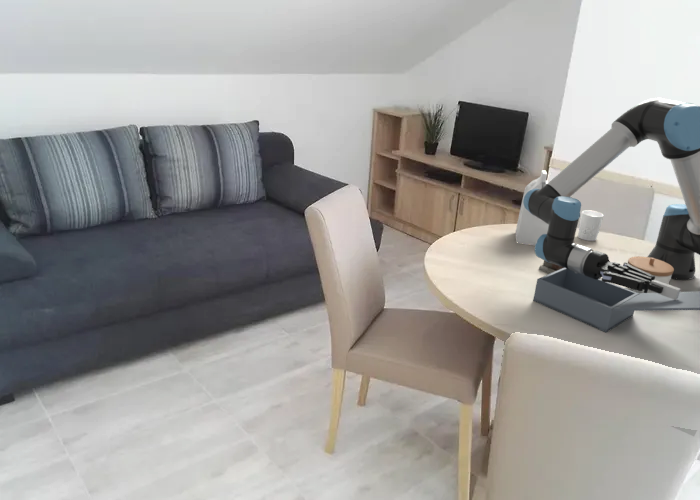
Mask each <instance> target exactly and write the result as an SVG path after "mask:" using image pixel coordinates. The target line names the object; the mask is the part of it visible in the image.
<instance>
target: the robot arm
mask: <svg viewBox="0 0 700 500" xmlns="http://www.w3.org/2000/svg"><path fill="white" fill-rule="evenodd" d="M646 140H650V141H653V142H656V143H657V144H658V146H659V150H660V152H661V155H662V156H663V158H664V159H666V160H670V162H671V165H672V168H673V171H674V175H675V177H676V180H677V183H678V186H679V189H680V193H681V194H682V198H683V201H684V204H683V203H676V204H675V203H674V204H669V205H667V207H666V208H665V211H664V213H663V216H662V220H661V224H660V228H659V231H658V235H657V239H656V242H655V246H653V249H651V251H650V253H649V254H647V255H648V256H647V257H650V258H655V259H658V260H661V261H664V262H666V263H668V264H670V265H671V266H672V267H673V268H674V272H673V274H672V276H671V279H670V280H679V281H680V280H681V281H686V280H687V281H688V280H691V279H693V278H694V277H695V274H696V263H695V262H696V261H695V260H696V259H695V253H696V254H697V255H699V256H700V105H697V104H695V103H691V102H683V101H678V100H673V99H672V100H671V99H667V98H663V97H657V98H656V97H655V98H649V99H647V100H644V101H642V102H640V103H638V104H637V105H635V106H633V107H630V109H628V110H627V111H626V112H624V113H621V115H620V116H619V117H618V118H617V119H615V120H614V121H613V122H612V123H611V128H610V129H609V130H608V131H607V132H605V134H603V135H602V136H601V137H600V138H598V139H597V140H596V141H595V142H594V143H592V144H591V146H589V147H588V148H587V149H586V150H585V151H583V152H582V153H581V154H579V156H578V157H576V158H575V159H574V160H573V161H572V162H571V163H570V164H568V165H567V166H566V167H564V169H563V170H561V171H560V172H559V173H557V175H556V176H554V177H553V178H551V180H549V181H548V184H546V185H545V186H544V187H543V188H542V189H532V190H530V191H528V192H527V193H526V195H525V196H524V200H523V199H522V200H523V204H524V207H525V208H526V209H527V210H528V211H529V212H530V213H531V214H532V215H535V216H536V217H538V218H540V219H541V220H543V221H544V222H546V223H547V224H549V226H548V231H547V234H543V235H541V236H540V237H539V238H538V240H537V243H536V245H534V253H535V255H536V257H538V258H539V259H541V260H543V261H544V260H545V261H547V262H549V263H553V264H556V265H558V266H561V267H564V268H567V269H569V270H572V271H575V273H580V274H584V275H585V276H587V277H590V278H593V279H596V280H597V279H600V278H602V281H603V282H609V283H612V284H615V285H617V286H620V287H623V288H626V289H630V290H631V289H635V290H638V291H642V290H644V293H647V292H648V289H649V291H652V292H655V293H658V294H660V295H663V296H666V297H668V298H671V299H674V300H676V299H678V296H679V293H680V292H681V288H680V287H677V286H674V285H671V284H666V283H663V282H660V281H657V280H655V276H653V275H651V274H649V273H647V272H644V271H642V270H640V269H638V268H635V267H633V266H631V265H630V264H628V262H623V265H622V264H620V263H619V262H616V261H610V258H609V255H608V254H607V253H605V252H602V251H598V250H594V249H593V248H590V247H587V246H585V245H581V244H578V243H575V238H576V232H577V228H578V226H579V225H578V224H579V222H580V219H581V211H582V210H581V209H582V202H581V201H580V200H579V199H577V198H575V197H572V196H574V194H575V193H577V192H578V191H579V190H580V189H581V188H582V187H584V186H585V185H586V184H588V183H589V182H590V181H591V180H592V179H593V178H595V177H596V175H598V174H599V173H600V172H601V171H602V170H604V169H605V168H606V167H607V166H609V165H610V164H611V163H612V162H613V161H614V160H616V159H617V158H618V157H619V156H620V155H622V154H623V153H624V152H625V151H626V150H627V149H629V148H631V147H633V148H634V147H636V146H637V145H639V144H640V143H641V142H643V141H646Z"/></svg>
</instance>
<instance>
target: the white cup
mask: <svg viewBox="0 0 700 500" xmlns="http://www.w3.org/2000/svg"><path fill="white" fill-rule="evenodd" d="M603 218H604V214H603V213H602V212H600V211H596V210H591V209H590V210H589V209H587V210H586V209H585V210H581V212H580V218H579V223H578V224H579V225H578V234H577V237H578V239H581V240H584V241H586V242H587V241H588V242H594V241H596V240H597V238H598V235H599V232H600V230H601V229H600V228H601V226H602V223H603V220H604V219H603Z"/></svg>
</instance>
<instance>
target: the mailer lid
mask: <svg viewBox="0 0 700 500" xmlns="http://www.w3.org/2000/svg"><path fill="white" fill-rule="evenodd" d="M614 311H634V312H635V311H636V312H637V311H639V312H643V311H646V312H647V311H649V312H650V311H653V312H654V311H658V312H659V311H700V291H699V290H698V291H697V290H696V291H680V293H679V296H678V299H676V300H674V299H671V298H668V297H666V296H663V295H660V294H658V293H640V294H638V295H637V296H635V297H633V298H631V299H630V300H628V301H626V302H624V303H623V304H621V305H619V306H617V307H616V308H614Z"/></svg>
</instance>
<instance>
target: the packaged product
mask: <svg viewBox="0 0 700 500" xmlns="http://www.w3.org/2000/svg"><path fill="white" fill-rule="evenodd" d="M562 268H564V267H561V266H558V265H556V264H553V263H549V262H547V261H545V260H543V263H542V264H541V265H540V266H539V267H538V269H539V270H540V271H543V272H545V273H548V274H550V273H553V272H555V271H557V270H560V269H562ZM600 279H601V280H602V277H601V278H600Z"/></svg>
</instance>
